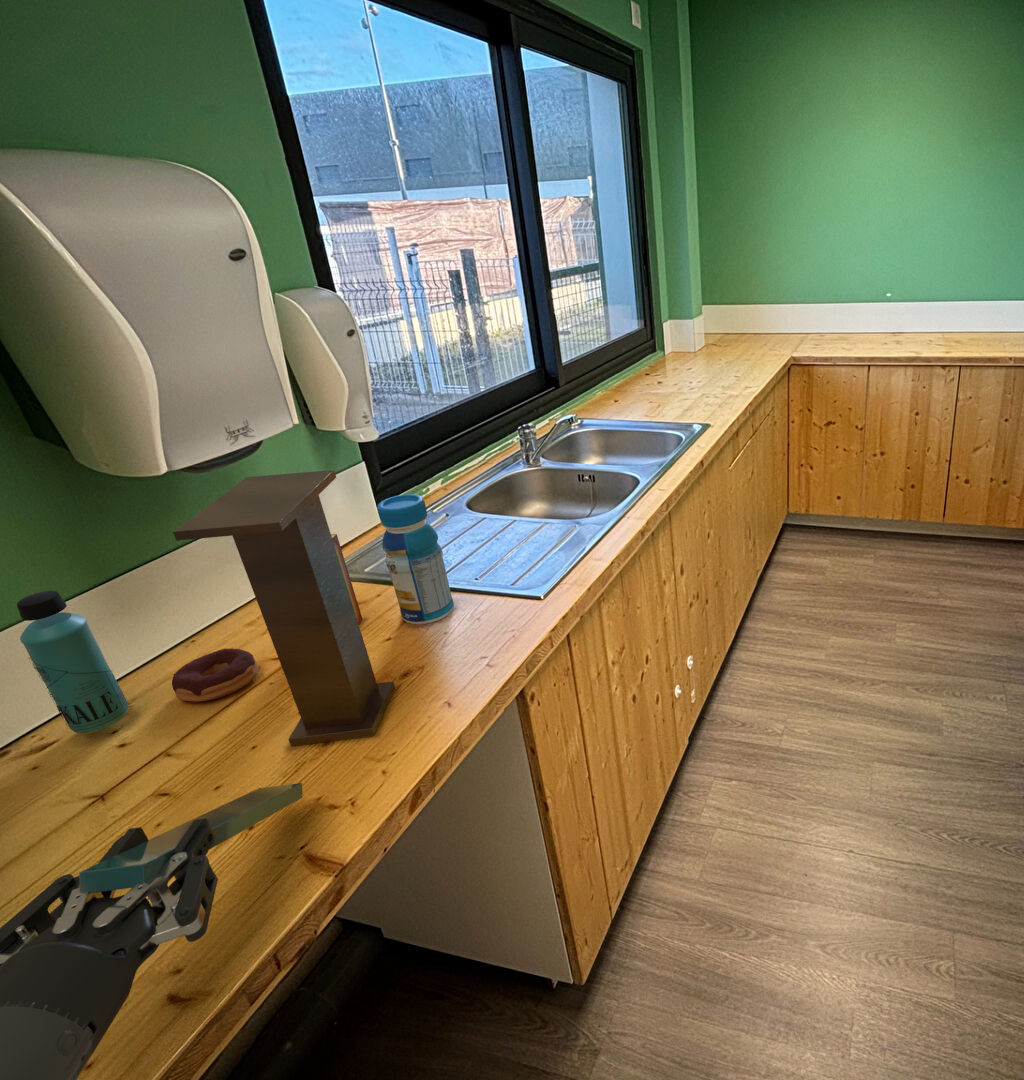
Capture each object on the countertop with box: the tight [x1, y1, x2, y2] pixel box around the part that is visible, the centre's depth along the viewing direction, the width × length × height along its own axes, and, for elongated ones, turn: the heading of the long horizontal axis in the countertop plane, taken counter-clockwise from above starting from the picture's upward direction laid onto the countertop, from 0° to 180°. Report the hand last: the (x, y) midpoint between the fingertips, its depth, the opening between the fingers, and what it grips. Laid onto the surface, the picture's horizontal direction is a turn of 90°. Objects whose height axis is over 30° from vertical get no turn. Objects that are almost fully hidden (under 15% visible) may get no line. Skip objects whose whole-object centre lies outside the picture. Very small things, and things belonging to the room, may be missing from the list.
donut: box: [171, 648, 260, 703], centre depth 99 cm, size 10×10×4 cm
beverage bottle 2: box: [377, 493, 455, 625], centre depth 112 cm, size 8×8×20 cm
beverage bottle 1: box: [16, 590, 130, 734], centre depth 88 cm, size 6×7×20 cm
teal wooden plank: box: [78, 782, 304, 893], centre depth 63 cm, size 24×4×2 cm, turn 8°
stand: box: [172, 469, 396, 747], centre depth 84 cm, size 16×10×32 cm, turn 8°
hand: (173, 831), depth 58 cm, fingers closed on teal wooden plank, 4 cm apart
